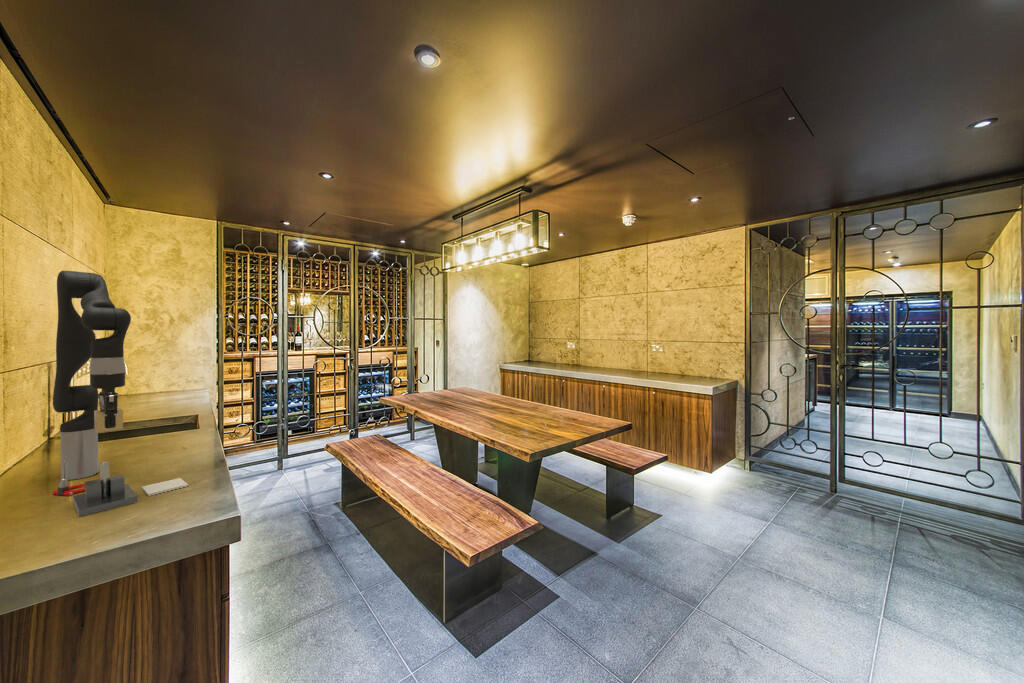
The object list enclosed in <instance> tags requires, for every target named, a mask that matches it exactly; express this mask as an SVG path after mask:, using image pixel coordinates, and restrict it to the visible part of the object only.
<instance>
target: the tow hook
mask: <svg viewBox="0 0 1024 683" xmlns="http://www.w3.org/2000/svg"><path fill="white" fill-rule="evenodd" d="M68 481H69V480H68V479H67V455H63V462H62V471H61V470H60V479H59V487H57V489H54V490H52V492H51V493H52V494H51V495H55V494H56V496H57V495H58V496H64V495H65V496H68V497H69V496H70V497H71V496H72V497H73V496H74V495H76V494H78V493H80V494H81V493H83V492H84V493H85V487H82V486H85V484H84V483H79V484H74V485H69V486H68V484H69V483H68ZM78 487H79V488H78ZM74 488H75V489H74ZM65 496H64V497H65Z"/></svg>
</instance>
